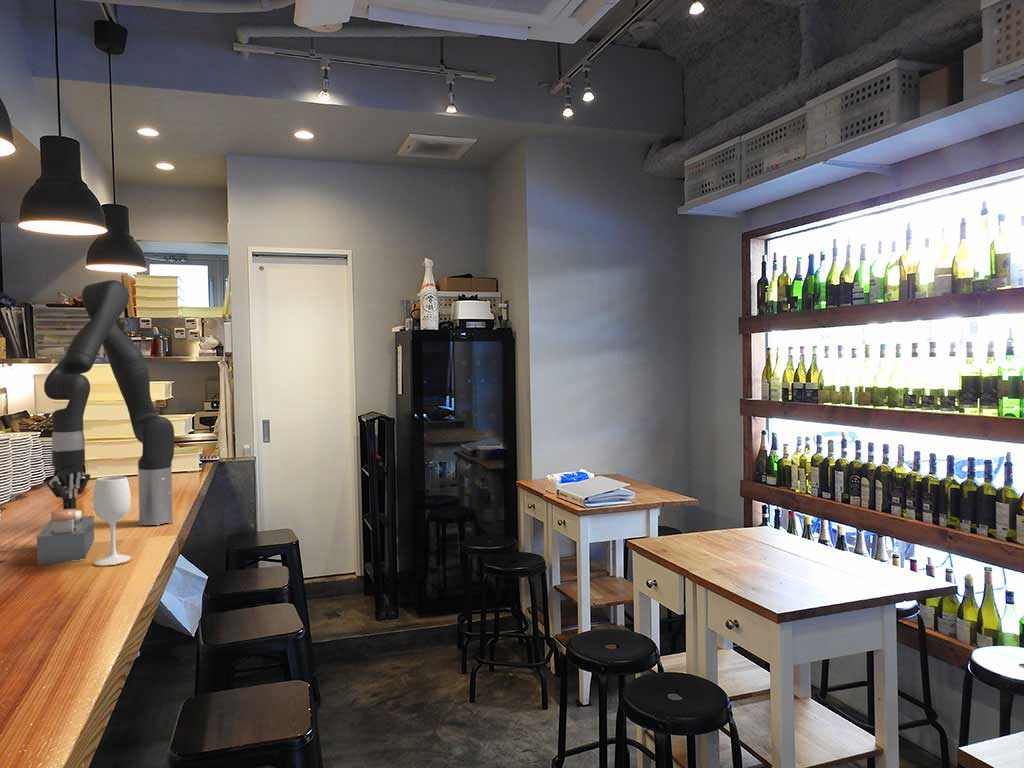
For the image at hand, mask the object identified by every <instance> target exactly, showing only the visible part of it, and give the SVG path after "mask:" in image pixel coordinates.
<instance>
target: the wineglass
mask: <svg viewBox="0 0 1024 768" xmlns="http://www.w3.org/2000/svg"><path fill="white" fill-rule="evenodd" d="M128 480H129V479H128V477H127V476H123V475H113V476H112V475H111V476H104V477H98V478H97V479H95V484H94V488H93V495H92V496H93V497H92V505H93V511H94V513H95V515H96V516H97V517H98V518H99V519H100V520H102V521H104V522H106V523H107V524H108V525H109V531H110V550H109V554H108V555H107V556H103V557H101V558H98V559H96V560H95V561H93V563H95V564H99V565H108V564H116V563H120V562H124V561H127V560H129V559H130V558H131V557H132V556H131V557H130V555H127V554H118V552H117V548H116V525H117V523H118V522H119V521H120V520H122V519H123V518H125V516H126V515H127V514H128V512H129V511H130V509H131V503H132V500H131V499H132V497H131V496H132V495H131V494H132V493H131V489H130V483H129V481H128Z"/></svg>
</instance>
